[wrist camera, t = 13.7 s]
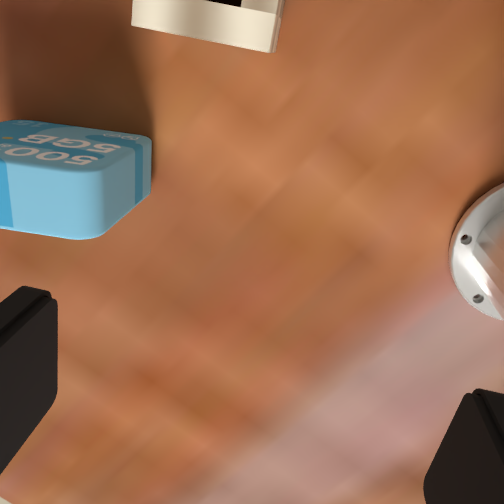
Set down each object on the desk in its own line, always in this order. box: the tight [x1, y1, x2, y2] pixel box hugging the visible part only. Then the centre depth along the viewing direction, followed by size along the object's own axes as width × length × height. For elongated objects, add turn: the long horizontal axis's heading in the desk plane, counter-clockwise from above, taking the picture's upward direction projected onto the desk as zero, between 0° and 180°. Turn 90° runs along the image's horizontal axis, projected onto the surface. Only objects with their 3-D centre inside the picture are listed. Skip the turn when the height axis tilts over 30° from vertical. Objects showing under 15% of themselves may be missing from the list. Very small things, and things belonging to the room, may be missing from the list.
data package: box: [0, 120, 152, 239], centre depth 33 cm, size 12×4×12 cm, turn 84°
